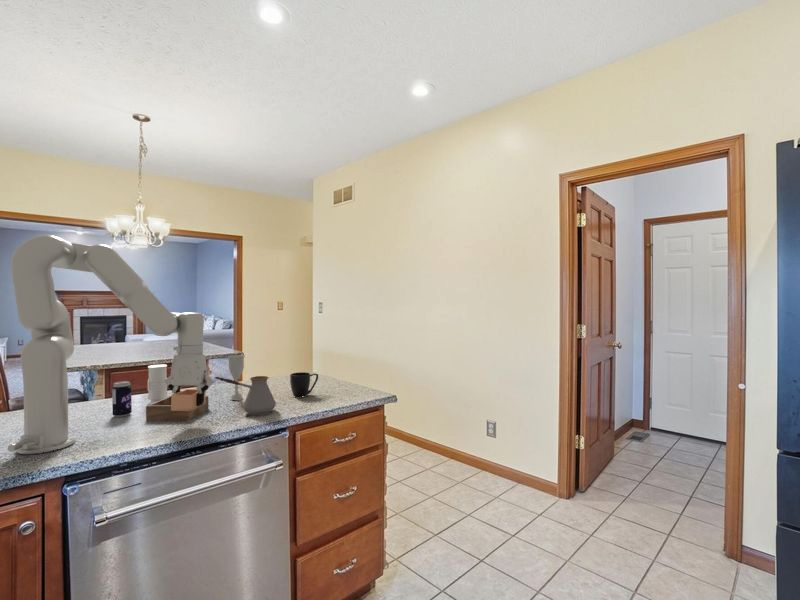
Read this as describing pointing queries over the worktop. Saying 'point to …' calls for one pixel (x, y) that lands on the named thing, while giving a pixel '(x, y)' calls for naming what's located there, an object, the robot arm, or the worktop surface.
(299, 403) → the worktop surface
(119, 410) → the beverage can
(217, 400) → the worktop surface
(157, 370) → the candle
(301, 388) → the mug
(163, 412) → the walnut crate
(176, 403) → the terracotta crate
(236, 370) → the chalice
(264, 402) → the coffee pot
